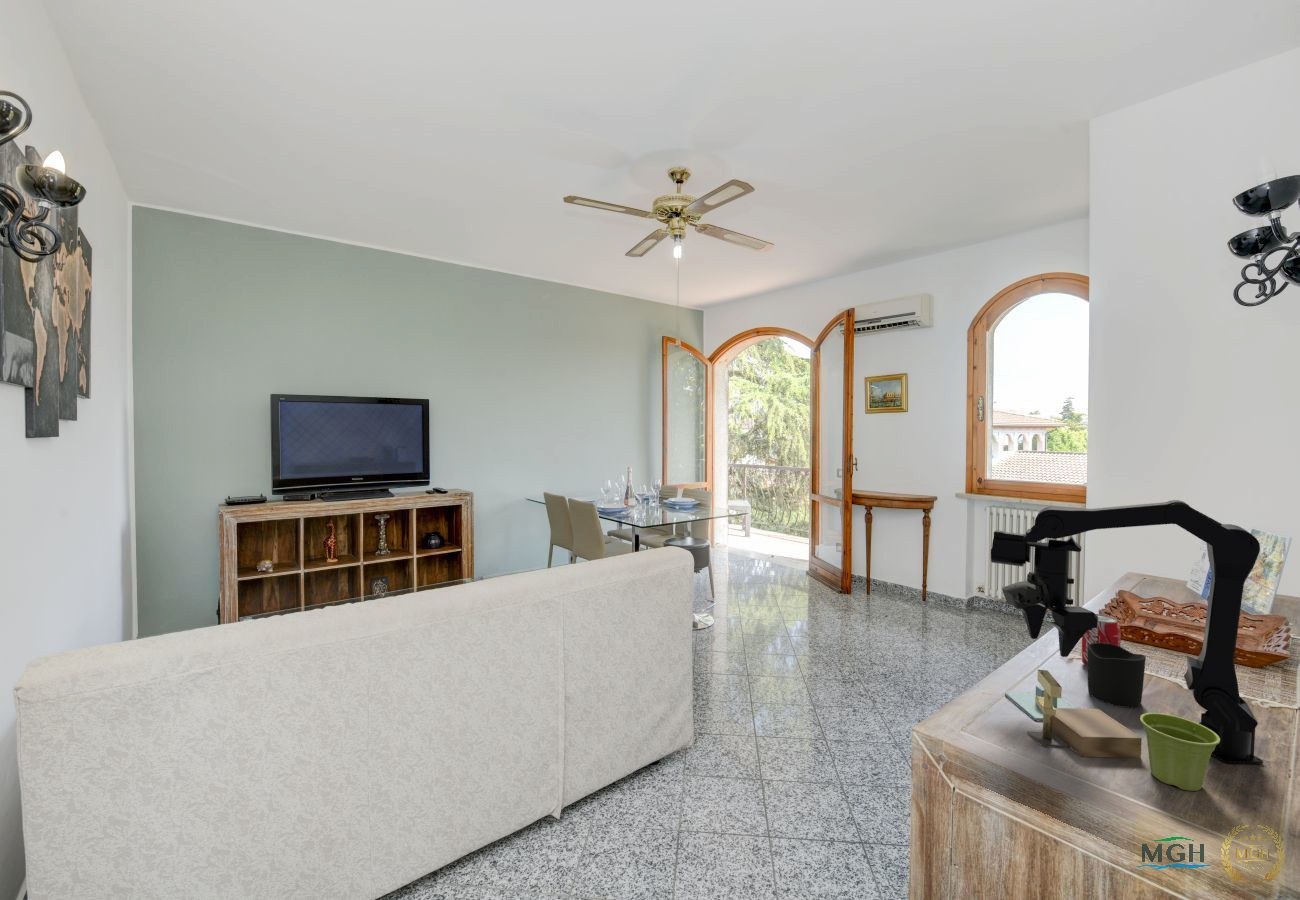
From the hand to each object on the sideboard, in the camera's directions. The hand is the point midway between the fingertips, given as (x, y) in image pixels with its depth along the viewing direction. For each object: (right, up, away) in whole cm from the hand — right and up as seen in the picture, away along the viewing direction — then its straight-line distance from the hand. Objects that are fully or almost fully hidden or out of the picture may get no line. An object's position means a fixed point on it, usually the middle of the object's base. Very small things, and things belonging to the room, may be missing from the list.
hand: (1048, 647), depth 115 cm
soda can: (+26, -12, +20) cm, 34 cm away
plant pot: (+5, -14, -22) cm, 27 cm away
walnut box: (-3, -13, -11) cm, 17 cm away
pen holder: (+17, -13, +5) cm, 22 cm away
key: (-8, -13, -11) cm, 19 cm away
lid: (0, -13, +1) cm, 13 cm away
